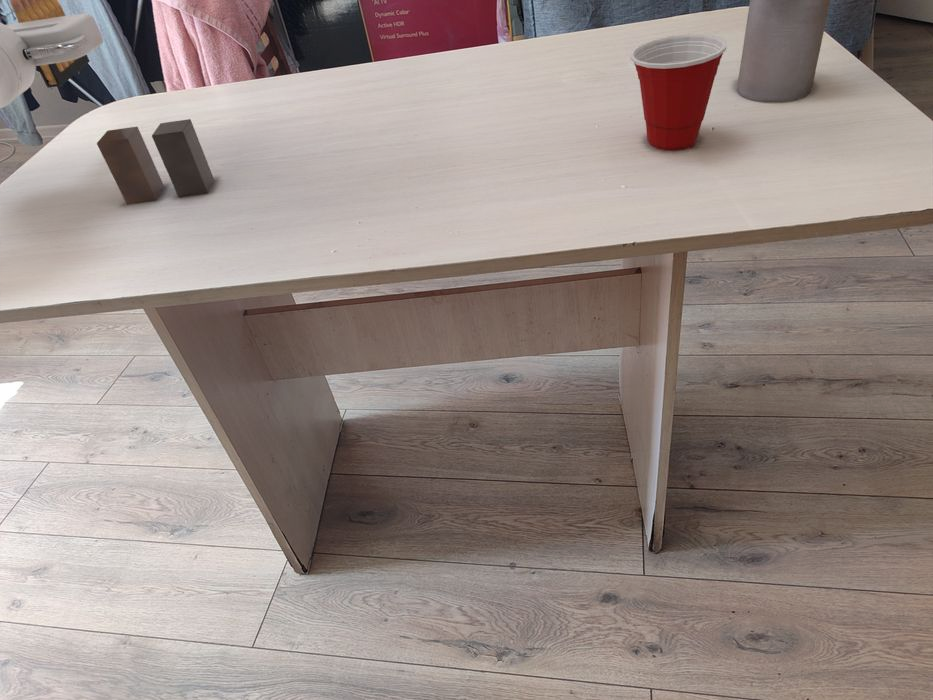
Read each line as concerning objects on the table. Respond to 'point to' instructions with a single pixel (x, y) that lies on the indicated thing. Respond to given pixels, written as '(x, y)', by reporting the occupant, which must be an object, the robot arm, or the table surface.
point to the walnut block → (131, 165)
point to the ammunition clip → (42, 3)
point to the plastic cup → (676, 86)
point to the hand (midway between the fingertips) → (37, 27)
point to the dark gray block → (183, 158)
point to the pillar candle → (781, 48)
